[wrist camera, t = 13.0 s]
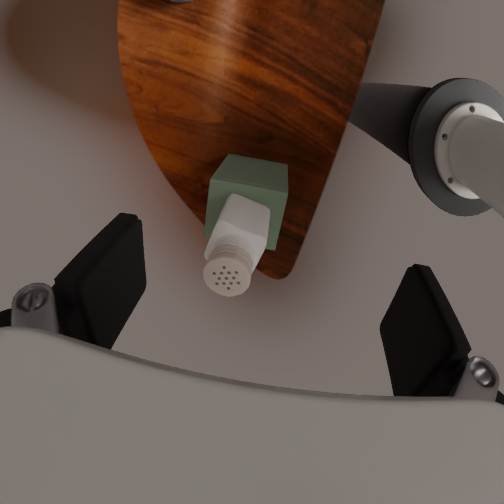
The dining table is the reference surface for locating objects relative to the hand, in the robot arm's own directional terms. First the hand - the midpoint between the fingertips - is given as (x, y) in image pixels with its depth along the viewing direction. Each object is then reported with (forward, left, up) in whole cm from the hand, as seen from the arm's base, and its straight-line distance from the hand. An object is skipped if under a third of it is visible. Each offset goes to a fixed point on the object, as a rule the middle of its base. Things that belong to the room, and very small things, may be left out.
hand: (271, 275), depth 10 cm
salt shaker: (+2, +6, -17) cm, 19 cm away
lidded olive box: (+2, +6, -27) cm, 28 cm away
